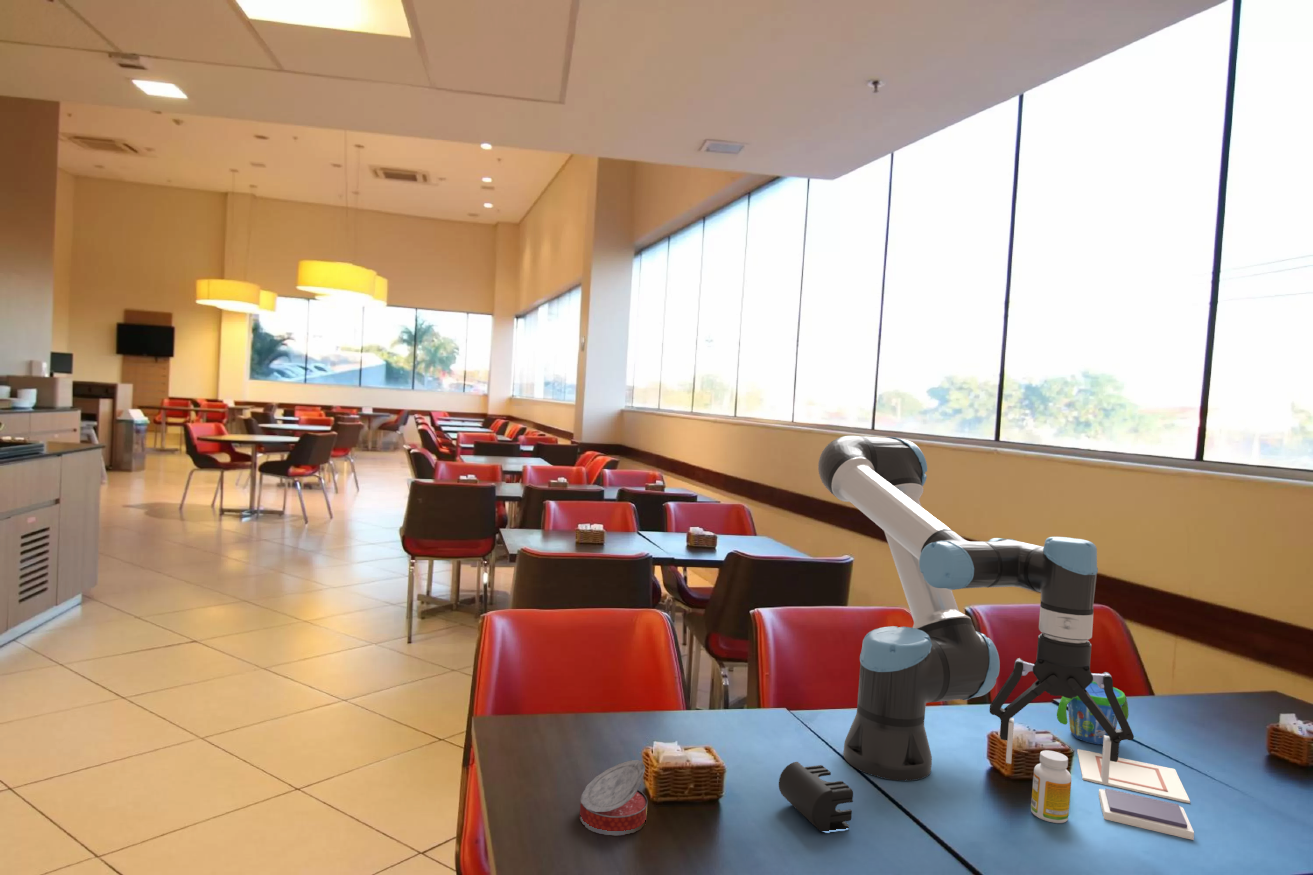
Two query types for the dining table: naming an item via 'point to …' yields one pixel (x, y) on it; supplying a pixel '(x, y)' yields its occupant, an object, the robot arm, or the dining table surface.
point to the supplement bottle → (1051, 788)
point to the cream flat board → (1134, 776)
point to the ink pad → (1145, 813)
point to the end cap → (816, 796)
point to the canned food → (615, 798)
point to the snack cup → (1090, 714)
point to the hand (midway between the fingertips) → (1055, 770)
